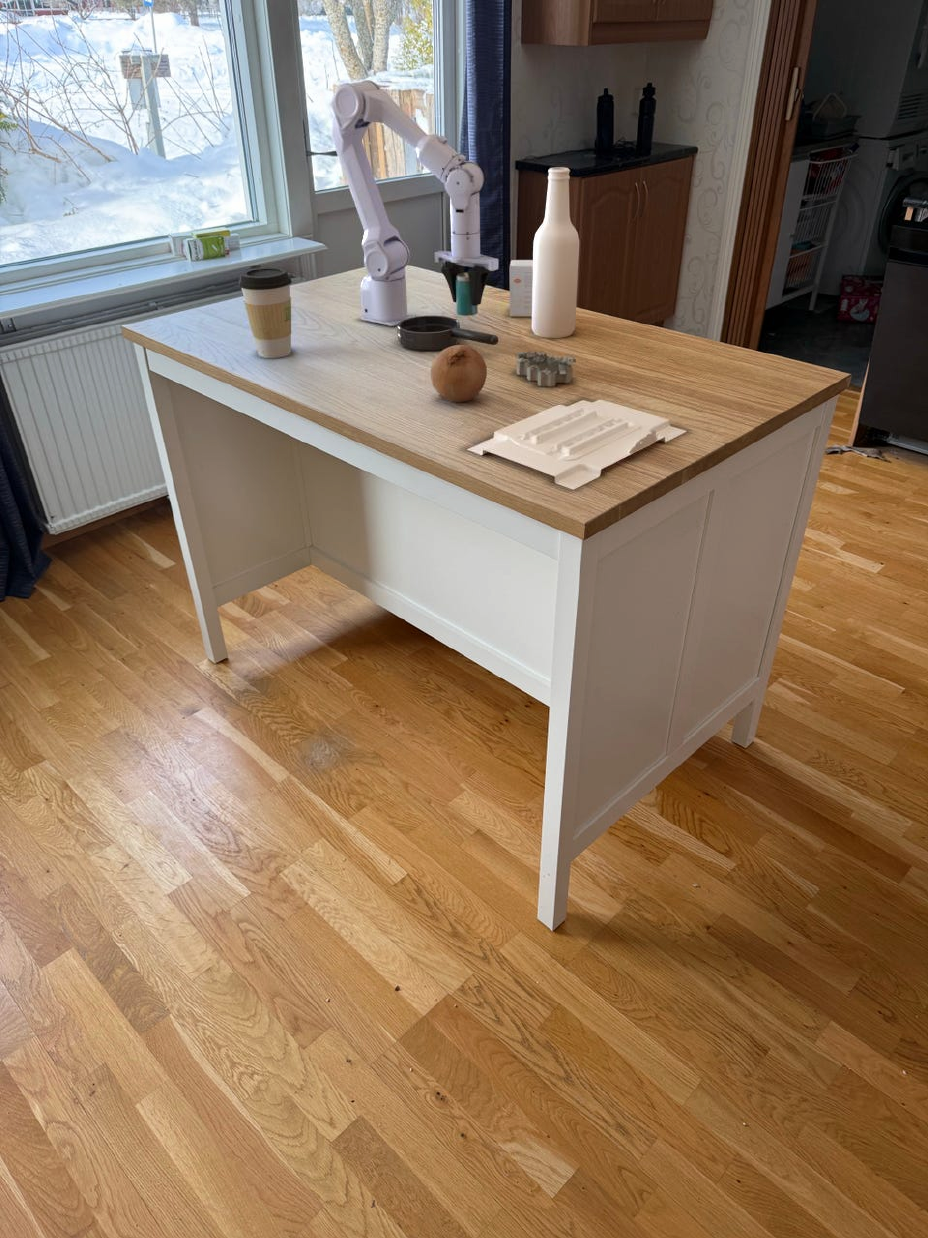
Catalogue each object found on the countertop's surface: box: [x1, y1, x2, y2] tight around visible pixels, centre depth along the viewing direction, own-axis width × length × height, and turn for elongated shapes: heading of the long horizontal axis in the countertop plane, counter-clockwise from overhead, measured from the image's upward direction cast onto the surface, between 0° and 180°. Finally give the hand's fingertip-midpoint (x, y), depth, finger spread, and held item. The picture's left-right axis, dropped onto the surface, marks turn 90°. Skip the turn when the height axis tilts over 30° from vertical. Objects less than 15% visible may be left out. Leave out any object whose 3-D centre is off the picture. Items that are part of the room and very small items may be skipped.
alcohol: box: [531, 166, 580, 339], centre depth 174 cm, size 9×9×30 cm
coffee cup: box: [238, 266, 293, 359], centre depth 170 cm, size 10×10×15 cm
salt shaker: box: [455, 272, 479, 317], centre depth 182 cm, size 4×4×8 cm
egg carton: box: [513, 350, 577, 388], centre depth 158 cm, size 11×8×4 cm
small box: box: [509, 259, 533, 318], centre depth 191 cm, size 8×6×10 cm
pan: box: [397, 315, 461, 352], centre depth 177 cm, size 12×12×4 cm
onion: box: [430, 344, 488, 403], centre depth 149 cm, size 10×9×10 cm
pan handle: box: [451, 327, 499, 346], centre depth 171 cm, size 11×2×2 cm, turn 53°
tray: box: [466, 399, 687, 490], centre depth 135 cm, size 20×28×4 cm
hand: (466, 302), depth 183 cm, fingers closed on salt shaker, 4 cm apart
